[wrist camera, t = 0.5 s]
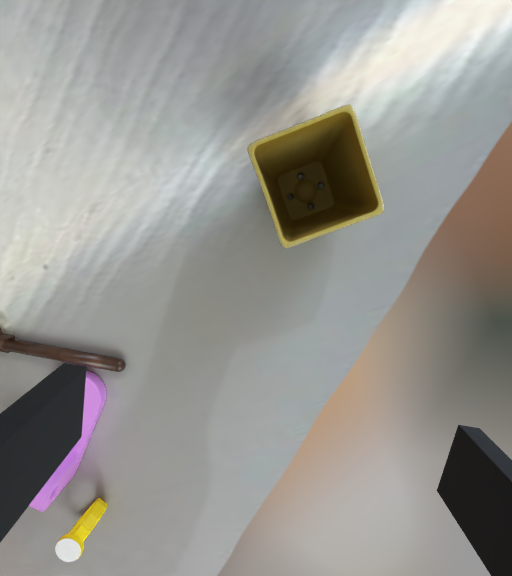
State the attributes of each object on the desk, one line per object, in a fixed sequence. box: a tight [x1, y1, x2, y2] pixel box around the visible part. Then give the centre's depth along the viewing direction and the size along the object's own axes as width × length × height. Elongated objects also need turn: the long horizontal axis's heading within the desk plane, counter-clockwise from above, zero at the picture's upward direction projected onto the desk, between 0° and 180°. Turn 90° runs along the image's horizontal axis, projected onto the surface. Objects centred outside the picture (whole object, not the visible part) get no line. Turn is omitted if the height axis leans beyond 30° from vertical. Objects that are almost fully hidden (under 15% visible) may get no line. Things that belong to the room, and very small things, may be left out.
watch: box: [55, 498, 107, 562], centre depth 40 cm, size 6×3×6 cm, turn 139°
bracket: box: [29, 370, 107, 512], centre depth 38 cm, size 13×6×7 cm, turn 155°
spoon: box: [0, 328, 126, 372], centre depth 40 cm, size 20×5×1 cm, turn 80°
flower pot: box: [248, 105, 384, 248], centre depth 32 cm, size 9×9×9 cm
